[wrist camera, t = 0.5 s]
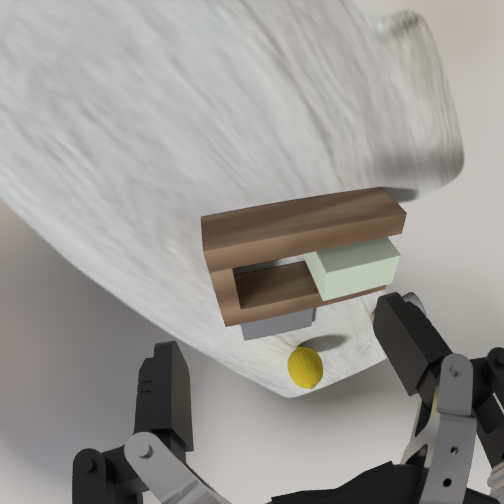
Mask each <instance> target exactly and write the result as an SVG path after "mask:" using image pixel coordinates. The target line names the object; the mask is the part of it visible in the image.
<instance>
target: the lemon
mask: <svg viewBox="0 0 504 504" xmlns="http://www.w3.org/2000/svg"><path fill="white" fill-rule="evenodd" d="M288 371H289V374H290V376H291V378H292V380H293V381H294V383H295V384H296V385H298V386H300V387H303V388H309V389H313V388H314V386H315V385H317V384H318V383H319V382H320V380H321V379H322V376H323V365H322V361H321V359H320V357H319V355H318V354H317V352H316V351H314V350H313V349H311V348H308V347H301V346H299V347H297V349H296V350H295V351H293V352H292V353H291V355H290V357H289V359H288Z"/></svg>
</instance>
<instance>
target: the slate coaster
mask: <svg viewBox="0 0 504 504" xmlns="http://www.w3.org/2000/svg"><path fill="white" fill-rule="evenodd" d="M312 315H313V308H312V309H308V310H303V311H299V312H295V313H290V314H286V315H282V316H277V317H272V318H268V319H263V320H258V321H253V322H248V323H243V324H241V328H242V332H243V336H244V340H245V341H246V340H251V339H256V338H261V337H266V336H270V335H275V334H280V333H284V332H288V331H293V330H297V329H301V328H305V327H309V326H311V325H312Z"/></svg>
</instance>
